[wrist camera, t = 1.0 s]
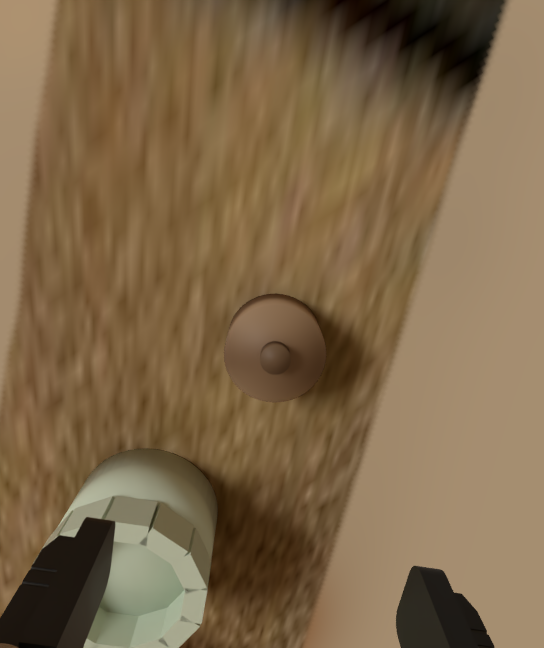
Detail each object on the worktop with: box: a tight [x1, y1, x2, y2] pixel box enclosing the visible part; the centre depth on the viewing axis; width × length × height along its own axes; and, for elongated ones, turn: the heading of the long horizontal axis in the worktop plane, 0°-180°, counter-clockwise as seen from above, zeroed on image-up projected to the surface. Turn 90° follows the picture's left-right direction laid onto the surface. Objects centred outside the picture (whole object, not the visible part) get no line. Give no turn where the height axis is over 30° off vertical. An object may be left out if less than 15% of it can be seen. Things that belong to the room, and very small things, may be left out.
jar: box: [34, 449, 218, 648], centre depth 29 cm, size 9×9×7 cm
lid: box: [224, 294, 326, 402], centre depth 27 cm, size 6×6×4 cm
